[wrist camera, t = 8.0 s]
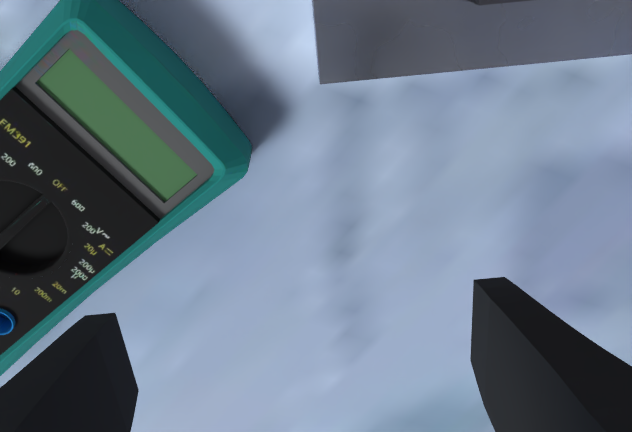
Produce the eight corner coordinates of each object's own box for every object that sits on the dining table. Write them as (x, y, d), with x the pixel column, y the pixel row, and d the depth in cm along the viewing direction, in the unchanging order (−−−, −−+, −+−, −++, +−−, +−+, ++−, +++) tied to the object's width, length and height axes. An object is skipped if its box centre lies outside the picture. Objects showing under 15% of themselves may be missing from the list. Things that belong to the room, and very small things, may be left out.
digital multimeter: (-157, 243, 22) (-218, 286, 19) (104, -29, 18) (72, -21, 15) (5, 356, 25) (-30, 407, 22) (263, 141, 21) (258, 172, 18)
